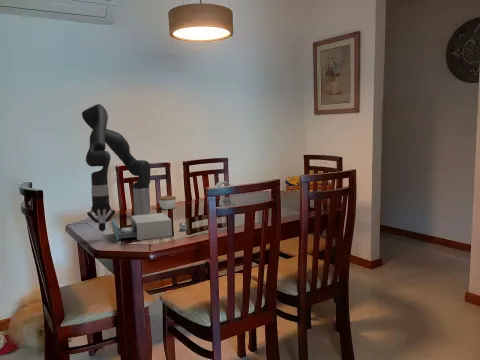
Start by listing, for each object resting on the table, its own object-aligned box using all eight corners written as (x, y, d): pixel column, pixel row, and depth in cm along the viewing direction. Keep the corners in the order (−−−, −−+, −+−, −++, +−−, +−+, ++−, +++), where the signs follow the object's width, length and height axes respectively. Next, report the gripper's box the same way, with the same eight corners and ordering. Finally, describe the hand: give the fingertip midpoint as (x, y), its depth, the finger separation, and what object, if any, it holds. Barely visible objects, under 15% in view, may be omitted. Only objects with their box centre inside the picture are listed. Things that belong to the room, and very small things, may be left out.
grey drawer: (112, 231, 199) (111, 219, 198) (144, 227, 205) (143, 216, 204) (116, 239, 183) (116, 226, 182) (151, 235, 189) (150, 223, 188)
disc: (120, 231, 194) (120, 228, 194) (133, 230, 197) (133, 226, 197) (122, 234, 189) (122, 230, 189) (135, 232, 191) (135, 229, 191)
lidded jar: (157, 208, 262) (156, 194, 261) (172, 206, 267) (172, 192, 266) (162, 211, 253) (161, 196, 252) (178, 209, 258) (178, 195, 257)
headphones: (219, 218, 231) (219, 183, 228) (207, 216, 236) (206, 182, 234) (238, 212, 246) (238, 180, 244) (226, 211, 251) (226, 179, 249)
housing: (131, 231, 203) (131, 215, 202) (163, 228, 209) (162, 212, 208) (137, 240, 186) (137, 223, 185) (171, 236, 193) (171, 219, 192)
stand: (178, 229, 205) (178, 223, 204) (185, 229, 206) (185, 222, 206) (180, 231, 202) (180, 224, 201) (187, 230, 203) (187, 223, 202)
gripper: (85, 196, 180) (87, 234, 182) (116, 194, 185) (118, 231, 187) (84, 194, 187) (86, 230, 189) (114, 192, 192) (116, 227, 194)
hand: (102, 230), depth 188 cm, fingers closed
